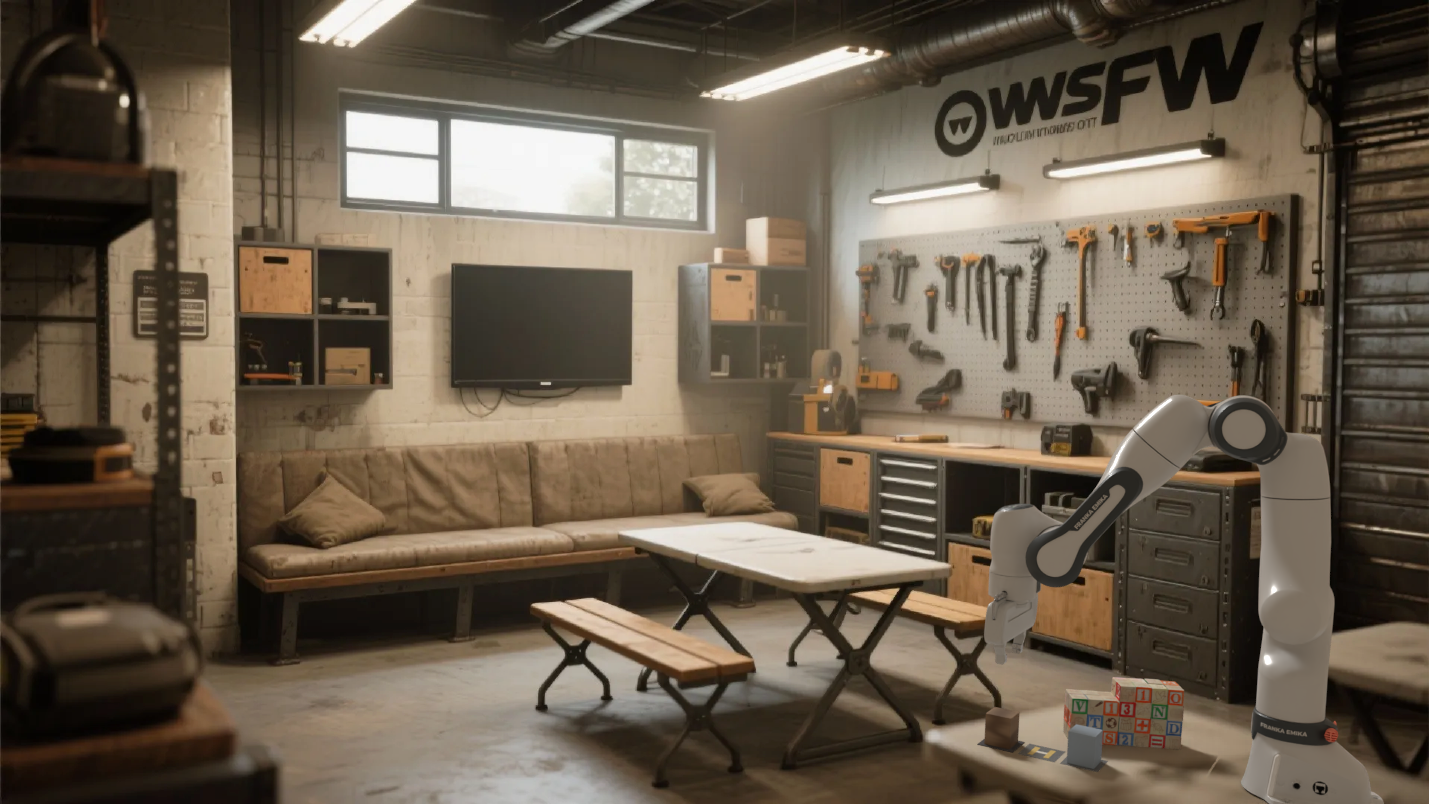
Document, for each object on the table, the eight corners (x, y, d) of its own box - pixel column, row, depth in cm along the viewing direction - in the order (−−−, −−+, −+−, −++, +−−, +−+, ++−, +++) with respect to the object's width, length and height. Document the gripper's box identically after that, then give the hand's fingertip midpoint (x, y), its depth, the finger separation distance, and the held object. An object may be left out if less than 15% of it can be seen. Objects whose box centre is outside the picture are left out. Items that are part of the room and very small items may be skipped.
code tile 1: (1065, 753, 225) (1065, 751, 225) (1054, 763, 219) (1054, 762, 219) (1029, 745, 229) (1029, 743, 229) (1017, 755, 223) (1017, 753, 223)
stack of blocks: (1068, 744, 231) (1072, 682, 230) (1062, 733, 237) (1065, 673, 236) (1181, 751, 229) (1185, 689, 228) (1172, 740, 235) (1175, 680, 234)
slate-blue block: (1101, 761, 221) (1102, 729, 220) (1093, 769, 216) (1095, 737, 216) (1074, 755, 223) (1076, 724, 223) (1066, 762, 219) (1068, 731, 219)
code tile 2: (1107, 762, 221) (1108, 760, 221) (1097, 773, 215) (1097, 772, 215) (1070, 754, 225) (1070, 752, 225) (1059, 765, 219) (1059, 763, 219)
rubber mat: (1024, 743, 230) (1024, 741, 230) (1012, 754, 224) (1012, 752, 224) (989, 736, 233) (990, 734, 233) (977, 746, 228) (977, 744, 228)
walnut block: (1018, 742, 229) (1019, 712, 229) (1009, 749, 225) (1010, 718, 225) (993, 736, 232) (994, 706, 232) (984, 743, 228) (985, 713, 227)
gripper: (1010, 599, 216) (1007, 673, 217) (1044, 581, 234) (1041, 649, 234) (977, 594, 220) (974, 667, 221) (1013, 576, 237) (1010, 644, 238)
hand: (1009, 658), depth 228 cm, fingers open, 8 cm apart
